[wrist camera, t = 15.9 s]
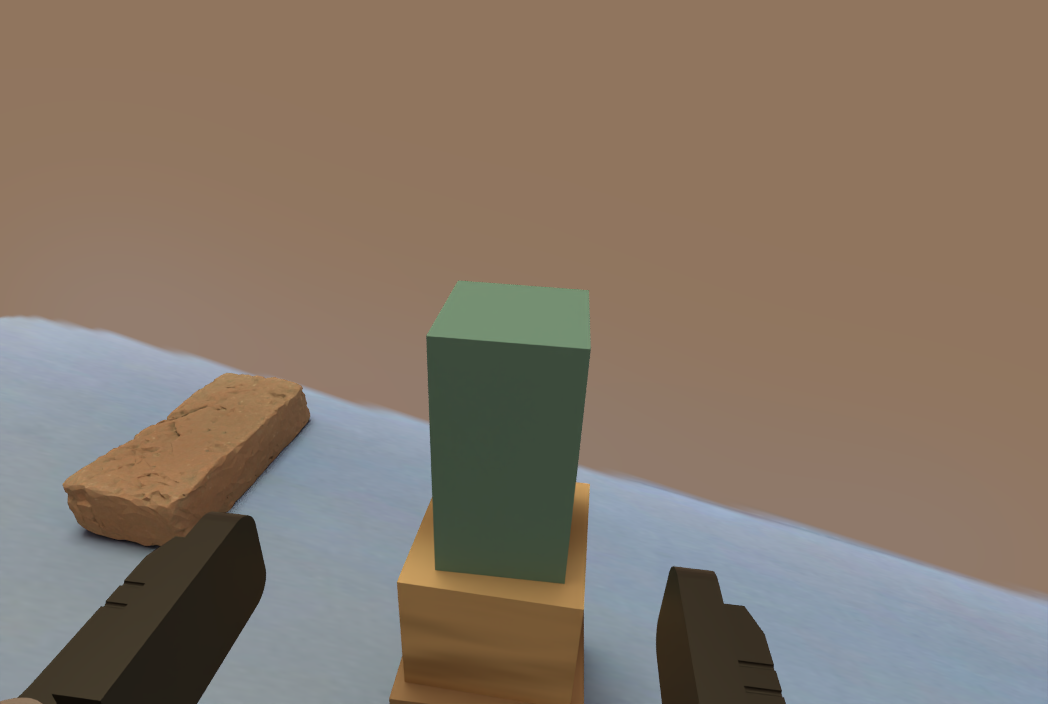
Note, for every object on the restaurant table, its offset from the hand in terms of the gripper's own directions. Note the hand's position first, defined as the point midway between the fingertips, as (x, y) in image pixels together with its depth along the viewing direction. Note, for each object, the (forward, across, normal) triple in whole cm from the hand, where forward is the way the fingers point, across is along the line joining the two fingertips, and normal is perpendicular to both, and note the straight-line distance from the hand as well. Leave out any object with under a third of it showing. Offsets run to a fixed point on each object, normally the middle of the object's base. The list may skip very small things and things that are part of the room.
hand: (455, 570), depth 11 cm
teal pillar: (+10, 0, +9) cm, 13 cm away
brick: (+25, +25, +22) cm, 41 cm away
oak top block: (+10, 0, +15) cm, 18 cm away
